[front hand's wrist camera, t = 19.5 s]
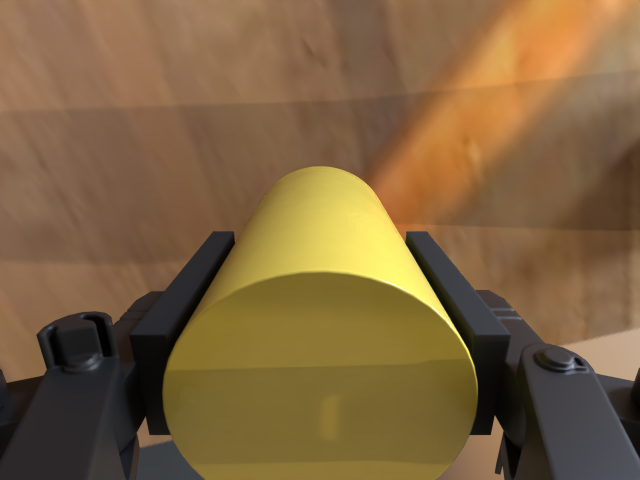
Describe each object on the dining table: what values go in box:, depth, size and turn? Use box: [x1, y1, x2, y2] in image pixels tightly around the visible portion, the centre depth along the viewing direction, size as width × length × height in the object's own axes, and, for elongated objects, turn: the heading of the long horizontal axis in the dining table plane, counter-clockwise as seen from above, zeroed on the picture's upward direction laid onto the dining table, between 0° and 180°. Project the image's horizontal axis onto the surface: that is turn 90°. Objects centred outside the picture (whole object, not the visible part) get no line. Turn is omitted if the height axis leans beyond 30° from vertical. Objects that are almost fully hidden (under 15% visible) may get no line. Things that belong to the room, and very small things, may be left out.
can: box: [162, 166, 478, 480], centre depth 13 cm, size 6×6×11 cm
